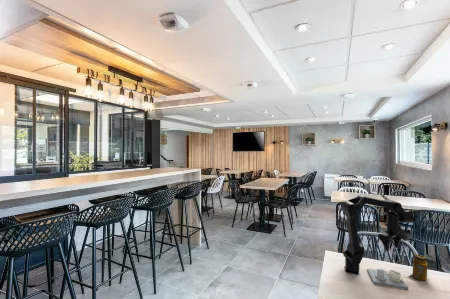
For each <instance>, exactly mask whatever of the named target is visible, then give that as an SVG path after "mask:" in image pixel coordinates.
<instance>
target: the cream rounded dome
mask: <svg viewBox="0 0 450 299" xmlns="http://www.w3.org/2000/svg"><path fill="white" fill-rule="evenodd" d="M388 272H389V273H388ZM387 275H389V277H390V278H391V279H393V280H397V281H399V280H400V281H404V279H403V278H402V276H401V275H402V274H401V272H400V271H398V270H395V269H389V270H388V271H387ZM401 278H402V279H401Z"/></svg>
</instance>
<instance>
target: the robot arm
mask: <svg viewBox="0 0 450 299" xmlns="http://www.w3.org/2000/svg"><path fill="white" fill-rule="evenodd" d="M365 205H370V206H373V207H380V208H384V209H387V210H385V211H384V212H382V214H383V215H385V216H386V223H384V225H385V226H386V230H384V232H380V233H379V234H377V239H379V241H381V243H382V245H383V247H384V250H385V251H386V252H390V247H391V244H392V243H393V244H394V247H395V248H396V249H399V245H400V244H401V241H404V242H407V241H410V239H411V237H413V234H412V230H410V229H402V226H401V224H410V223H414V222H415V216H414V214H413V213H412V211H411V210H405V209H404V208H403V205H402V203H400V202H398V201H395V200H393V199H379V198H374V197H370V196H365V195H361V194H360V195H357V196H356V197H353V198H350V199H348V200H347V201H344V202H343V203H341V208H342V212H343V214H344V215H345V217H346V224H347V233H348V243H347V249H346V250H345V251H344V252H342V256H343V257H344V259H345V260H344V270H345V273H348V274H353V275H354V274H355V275H360V264H361V262H362V260H363V259H364V256H365V254H366V252H365V248H364V246H363V245H362V244H361V243H360V241H359V231H358V225H357V224H358V223H357V217H358V215H359V211H360V210H362V208H364V206H365ZM400 223H401V224H400Z"/></svg>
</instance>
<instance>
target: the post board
mask: <svg viewBox="0 0 450 299" xmlns="http://www.w3.org/2000/svg"><path fill="white" fill-rule="evenodd" d="M366 271H367V273H368V275H369V277H370V279H371V281H372V284H374V285H379V286H385V287H391V288H396V289H403V290H409V287H408V285H407V283H406V282H405V281H404V280H403V281H400V280H399V281H397V280H393V279H391V278H390V277H389V275H387V272H388V273H389V271H385V269H383V268H380V267H377V269H372V268H366ZM401 279H403V278H402V277H401Z"/></svg>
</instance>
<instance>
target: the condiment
mask: <svg viewBox="0 0 450 299" xmlns="http://www.w3.org/2000/svg"><path fill="white" fill-rule="evenodd" d="M427 261H428V258H427V257H426V256H424V255H422V254H414V256H413V260H412V273H411V274H410V275H409V276H407V278H408V279H410V280H413V281H415V282H417V283H420V284H422V285H426V284H427V283H428V282H429V281H430V279H431V278H429V277H428V266H429V265H428V262H427Z"/></svg>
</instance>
